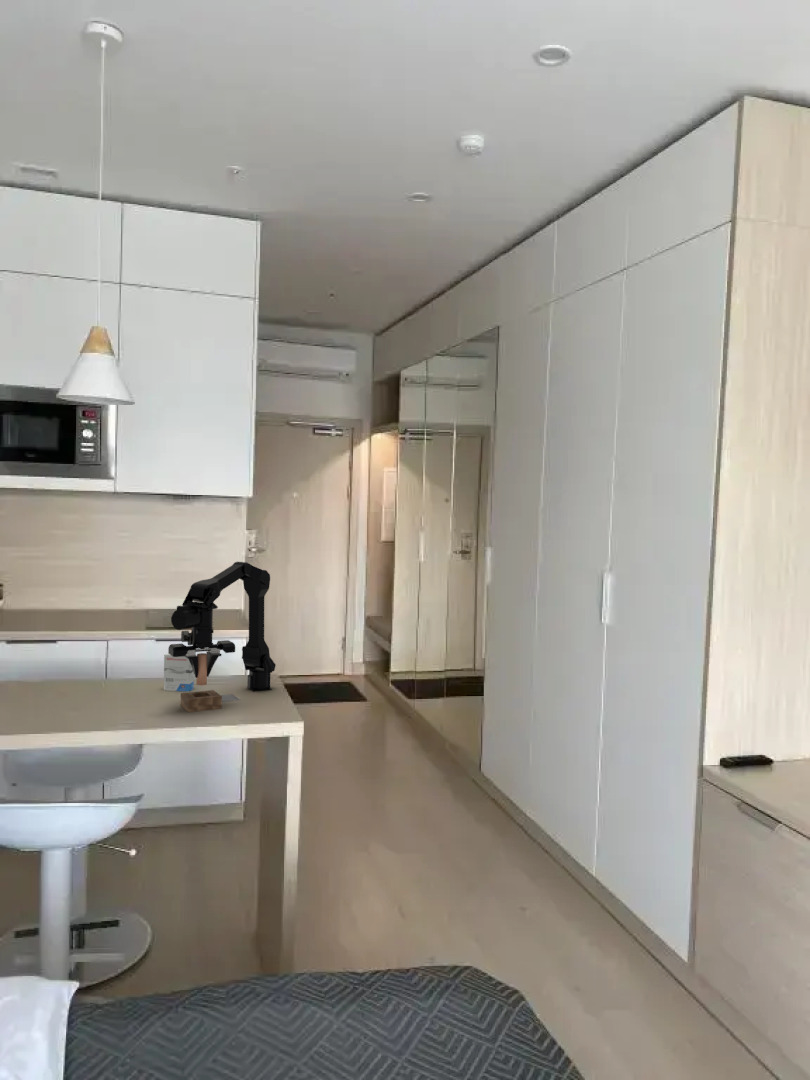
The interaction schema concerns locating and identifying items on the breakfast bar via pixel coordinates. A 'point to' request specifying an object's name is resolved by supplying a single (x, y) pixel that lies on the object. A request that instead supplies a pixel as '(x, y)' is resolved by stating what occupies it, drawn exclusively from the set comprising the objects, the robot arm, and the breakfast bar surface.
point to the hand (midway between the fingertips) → (201, 676)
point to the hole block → (201, 701)
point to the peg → (202, 669)
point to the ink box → (178, 673)
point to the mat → (229, 698)
